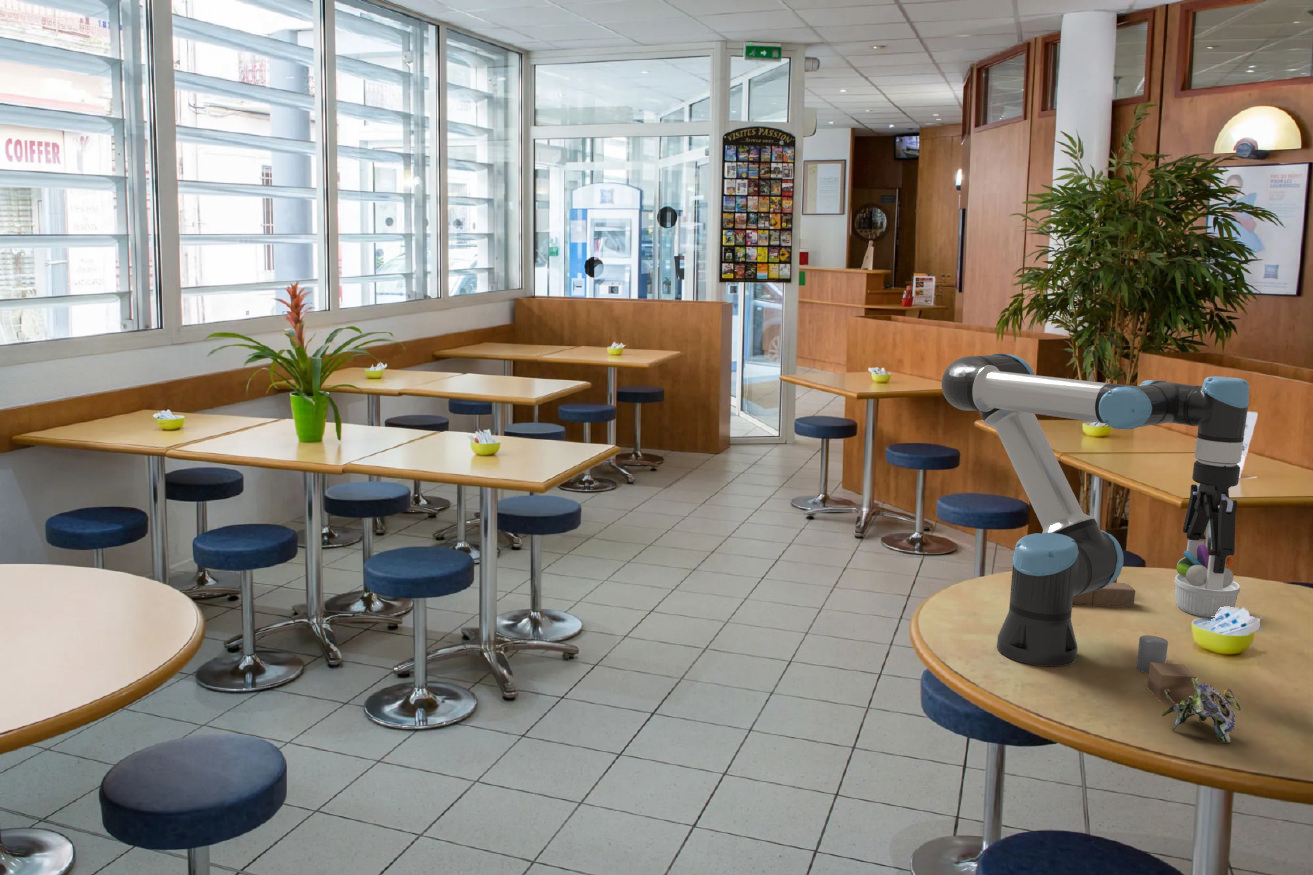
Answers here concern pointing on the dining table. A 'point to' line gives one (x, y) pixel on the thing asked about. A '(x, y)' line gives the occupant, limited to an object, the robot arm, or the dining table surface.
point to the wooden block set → (1108, 596)
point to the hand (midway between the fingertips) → (1202, 581)
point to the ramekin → (1203, 597)
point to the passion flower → (1207, 709)
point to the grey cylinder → (1151, 652)
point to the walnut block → (1170, 681)
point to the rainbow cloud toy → (1201, 567)
